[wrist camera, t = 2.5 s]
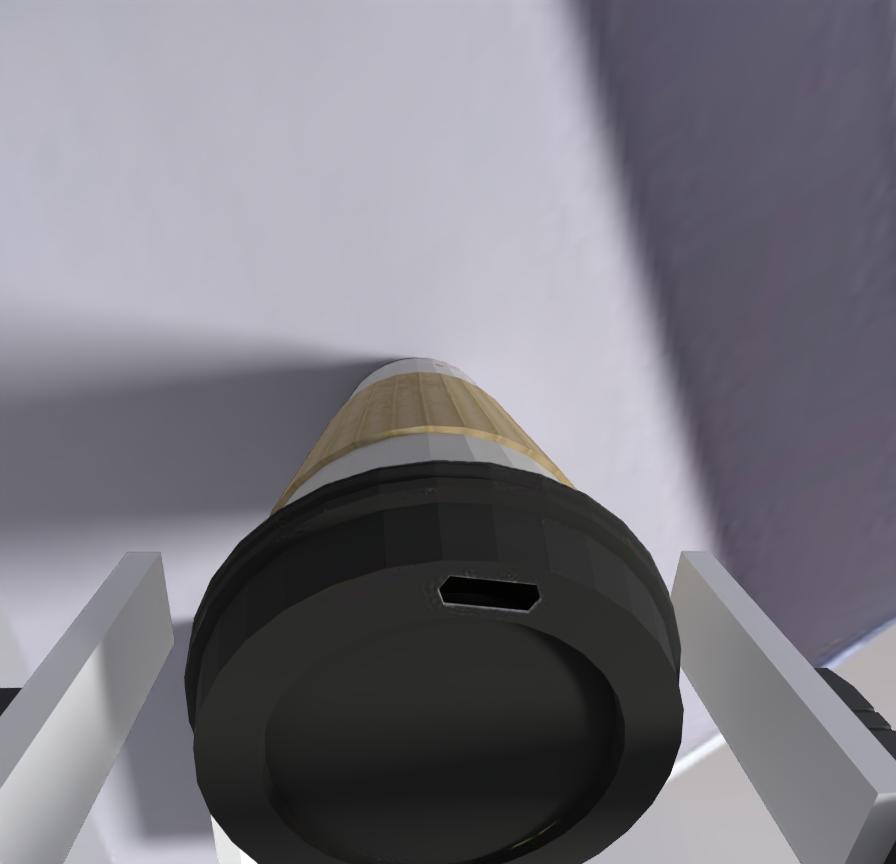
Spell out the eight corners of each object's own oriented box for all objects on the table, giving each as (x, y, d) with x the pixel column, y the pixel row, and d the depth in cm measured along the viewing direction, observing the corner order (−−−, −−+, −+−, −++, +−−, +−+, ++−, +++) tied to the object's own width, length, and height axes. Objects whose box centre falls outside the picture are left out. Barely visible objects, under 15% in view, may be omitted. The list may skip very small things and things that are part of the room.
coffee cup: (287, 517, 25) (150, 925, 11) (309, 290, 21) (144, 477, 7) (505, 542, 26) (626, 931, 12) (560, 334, 23) (815, 557, 9)
